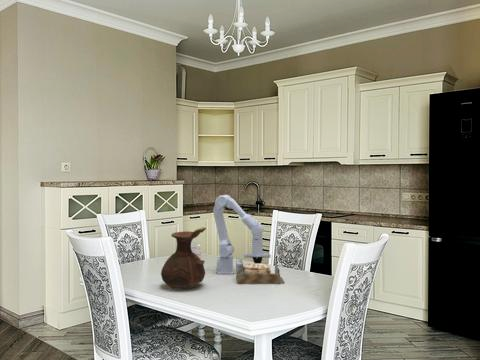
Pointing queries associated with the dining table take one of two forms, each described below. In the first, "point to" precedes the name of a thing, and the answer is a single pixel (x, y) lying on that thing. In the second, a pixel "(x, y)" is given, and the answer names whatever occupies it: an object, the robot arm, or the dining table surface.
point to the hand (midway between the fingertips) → (257, 270)
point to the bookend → (278, 273)
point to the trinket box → (256, 269)
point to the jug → (183, 263)
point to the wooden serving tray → (254, 276)
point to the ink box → (196, 248)
